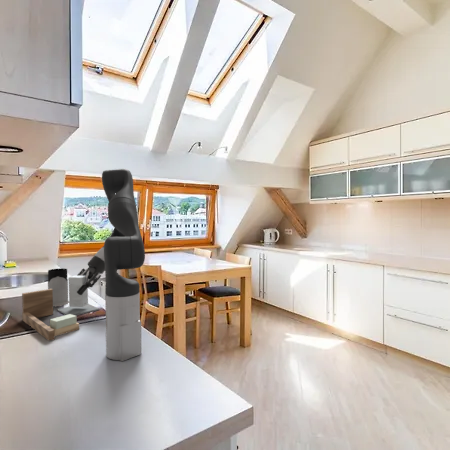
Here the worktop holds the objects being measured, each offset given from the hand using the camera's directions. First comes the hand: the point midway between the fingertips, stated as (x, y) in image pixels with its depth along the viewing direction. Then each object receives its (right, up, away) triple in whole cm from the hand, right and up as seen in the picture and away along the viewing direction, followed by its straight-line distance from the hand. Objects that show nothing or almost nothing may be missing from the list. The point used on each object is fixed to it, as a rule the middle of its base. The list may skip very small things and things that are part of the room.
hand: (74, 292), depth 128 cm
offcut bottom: (+7, -9, -21) cm, 24 cm away
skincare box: (+1, -6, +1) cm, 6 cm away
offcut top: (+7, -6, -22) cm, 23 cm away
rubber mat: (+1, -8, +1) cm, 8 cm away
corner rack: (0, -8, -16) cm, 18 cm away
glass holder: (-14, -8, +13) cm, 21 cm away
